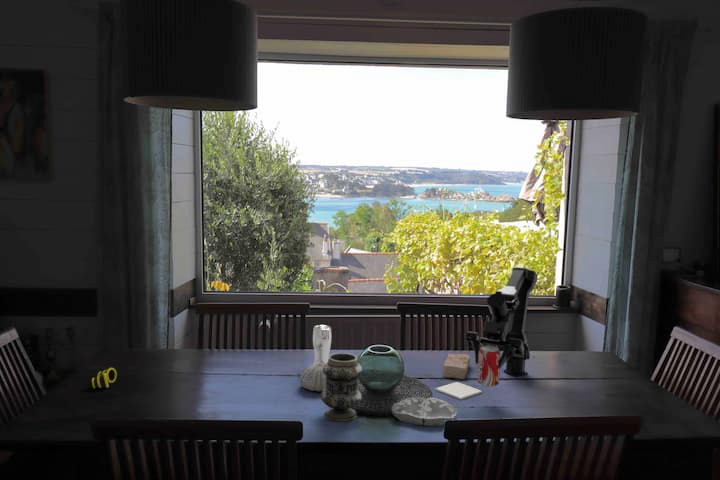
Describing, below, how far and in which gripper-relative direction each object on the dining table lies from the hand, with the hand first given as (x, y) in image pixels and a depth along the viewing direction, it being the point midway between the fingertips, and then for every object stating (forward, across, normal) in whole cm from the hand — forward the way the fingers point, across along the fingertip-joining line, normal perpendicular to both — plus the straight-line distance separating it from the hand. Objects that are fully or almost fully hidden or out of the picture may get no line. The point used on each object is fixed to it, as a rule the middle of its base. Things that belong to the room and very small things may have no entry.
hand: (487, 365), depth 184 cm
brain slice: (+24, -12, -6) cm, 27 cm away
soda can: (+4, 0, +6) cm, 7 cm away
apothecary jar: (+33, -34, -16) cm, 50 cm away
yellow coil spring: (+48, -114, -32) cm, 128 cm away
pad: (+5, -11, +12) cm, 17 cm away
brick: (-8, -19, +27) cm, 34 cm away
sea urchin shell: (+22, -52, -4) cm, 57 cm away
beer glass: (+8, -64, +9) cm, 66 cm away
